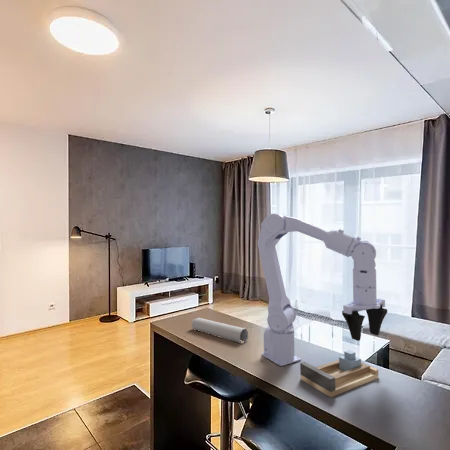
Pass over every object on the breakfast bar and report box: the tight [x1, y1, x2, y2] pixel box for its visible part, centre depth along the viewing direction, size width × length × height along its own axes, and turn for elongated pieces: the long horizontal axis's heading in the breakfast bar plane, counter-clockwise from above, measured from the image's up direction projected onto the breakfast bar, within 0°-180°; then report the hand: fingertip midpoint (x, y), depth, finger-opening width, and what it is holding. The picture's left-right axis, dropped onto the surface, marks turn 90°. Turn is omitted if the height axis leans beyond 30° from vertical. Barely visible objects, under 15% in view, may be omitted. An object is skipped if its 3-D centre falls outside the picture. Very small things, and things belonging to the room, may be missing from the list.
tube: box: [191, 317, 249, 345], centre depth 113 cm, size 5×5×25 cm
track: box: [299, 359, 379, 398], centre depth 80 cm, size 10×18×4 cm, turn 119°
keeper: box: [338, 349, 362, 372], centre depth 82 cm, size 4×4×5 cm
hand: (365, 336), depth 81 cm, fingers open, 7 cm apart
